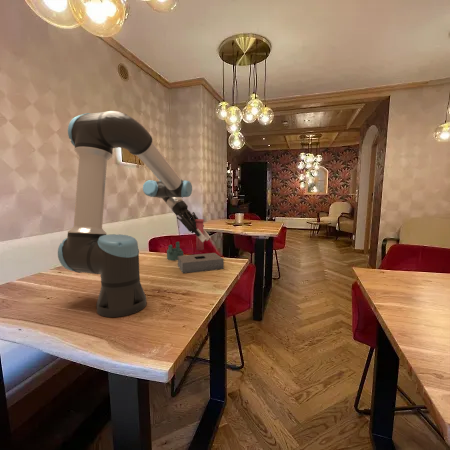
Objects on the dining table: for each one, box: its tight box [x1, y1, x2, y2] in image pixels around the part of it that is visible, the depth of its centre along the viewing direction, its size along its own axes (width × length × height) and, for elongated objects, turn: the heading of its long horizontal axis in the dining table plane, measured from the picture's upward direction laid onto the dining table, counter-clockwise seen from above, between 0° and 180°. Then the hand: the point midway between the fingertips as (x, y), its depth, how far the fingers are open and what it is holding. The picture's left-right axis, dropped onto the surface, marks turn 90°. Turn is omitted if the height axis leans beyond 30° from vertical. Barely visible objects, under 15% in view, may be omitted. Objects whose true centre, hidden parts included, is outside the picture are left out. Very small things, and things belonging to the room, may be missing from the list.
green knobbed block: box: [166, 241, 184, 261], centre depth 146 cm, size 9×9×9 cm
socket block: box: [177, 252, 225, 274], centre depth 129 cm, size 20×14×5 cm
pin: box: [195, 218, 205, 251], centre depth 127 cm, size 4×4×15 cm
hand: (206, 239), depth 126 cm, fingers closed on pin, 3 cm apart
